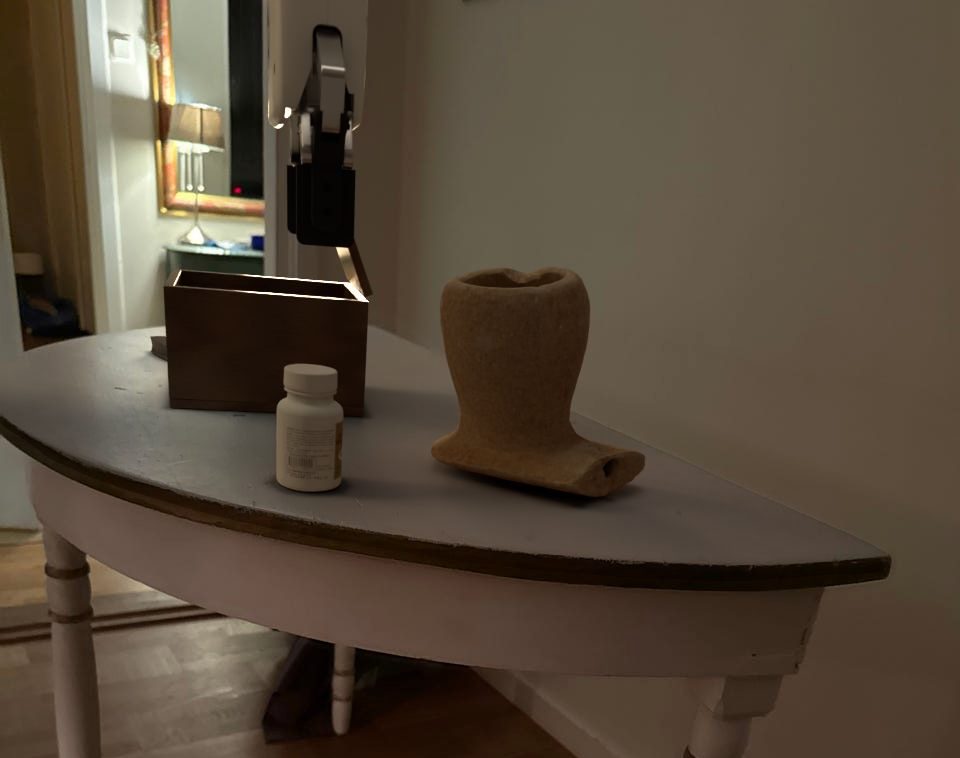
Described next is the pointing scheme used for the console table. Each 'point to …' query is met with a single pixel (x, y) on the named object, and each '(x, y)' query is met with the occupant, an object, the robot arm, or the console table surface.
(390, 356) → the console table surface
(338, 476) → the pill bottle
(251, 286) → the chest
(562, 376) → the stone cup
